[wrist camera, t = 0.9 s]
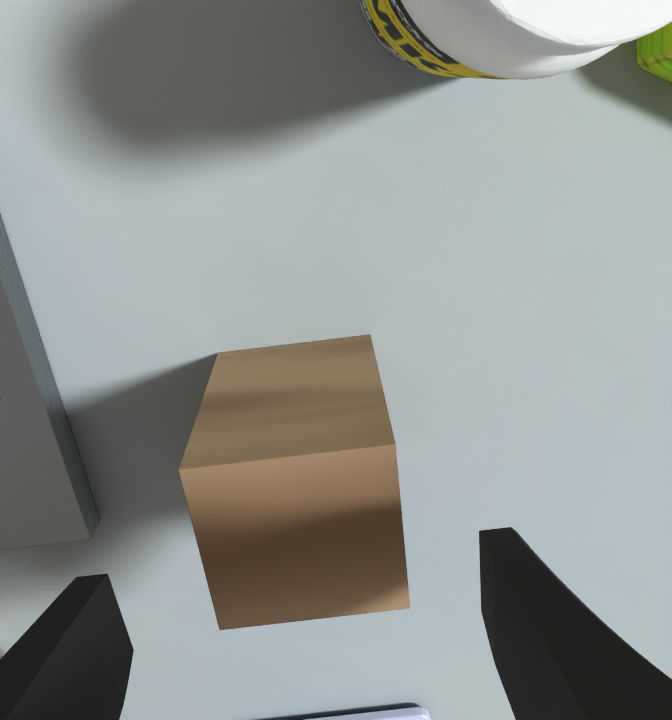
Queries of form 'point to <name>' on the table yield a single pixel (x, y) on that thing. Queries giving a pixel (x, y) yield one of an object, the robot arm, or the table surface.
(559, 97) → the table surface
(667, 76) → the pattern blocks set
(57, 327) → the table surface
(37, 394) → the press base
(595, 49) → the supplement bottle
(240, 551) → the brown rectangular block
